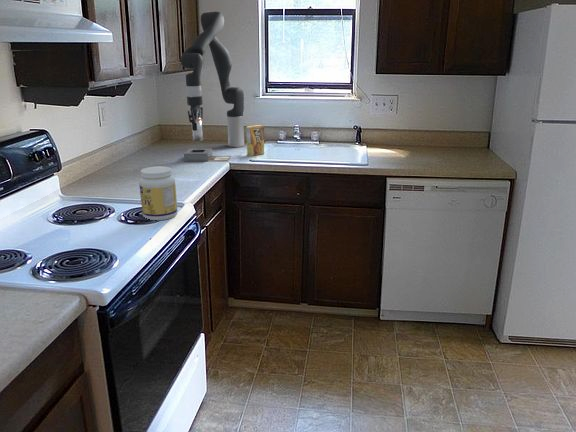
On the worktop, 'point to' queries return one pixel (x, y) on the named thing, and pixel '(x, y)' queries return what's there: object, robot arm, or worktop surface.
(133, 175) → the worktop surface
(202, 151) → the housing
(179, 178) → the worktop surface
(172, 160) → the worktop surface
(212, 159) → the board
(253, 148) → the candy box
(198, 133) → the clear glass
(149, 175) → the supplement tub
